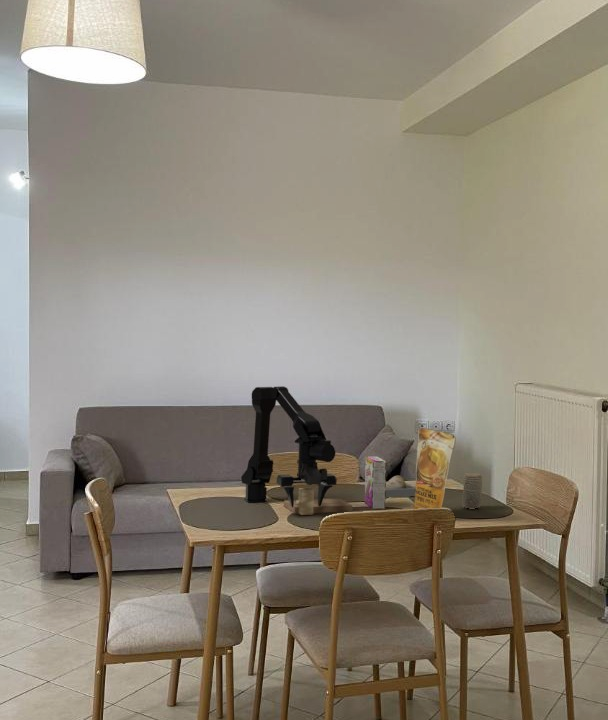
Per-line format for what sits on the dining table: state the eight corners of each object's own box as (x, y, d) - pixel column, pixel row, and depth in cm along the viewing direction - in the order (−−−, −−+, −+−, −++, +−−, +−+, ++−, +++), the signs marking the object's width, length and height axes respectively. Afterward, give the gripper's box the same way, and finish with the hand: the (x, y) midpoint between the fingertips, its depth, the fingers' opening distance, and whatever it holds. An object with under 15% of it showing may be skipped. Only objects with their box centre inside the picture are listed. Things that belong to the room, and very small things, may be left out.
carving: (460, 509, 285) (461, 474, 285) (464, 505, 292) (465, 471, 292) (479, 511, 283) (480, 476, 282) (482, 507, 290) (483, 473, 289)
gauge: (301, 514, 267) (302, 490, 267) (292, 509, 275) (293, 485, 275) (313, 514, 268) (313, 489, 268) (304, 509, 276) (305, 484, 276)
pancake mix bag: (423, 509, 283) (426, 426, 283) (455, 521, 266) (458, 433, 265) (406, 510, 281) (408, 427, 280) (437, 522, 263) (439, 433, 263)
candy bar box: (363, 502, 292) (364, 456, 291) (377, 502, 292) (378, 456, 292) (371, 509, 281) (372, 460, 280) (385, 509, 281) (387, 460, 281)
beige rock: (373, 494, 310) (383, 470, 313) (395, 505, 312) (404, 481, 315) (381, 493, 303) (391, 468, 306) (404, 504, 305) (413, 479, 308)
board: (294, 513, 270) (294, 507, 270) (283, 506, 281) (283, 500, 281) (352, 511, 276) (352, 505, 276) (339, 504, 288) (339, 498, 288)
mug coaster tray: (381, 498, 302) (382, 489, 302) (366, 491, 315) (366, 483, 315) (419, 496, 306) (419, 488, 306) (402, 490, 320) (403, 482, 320)
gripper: (287, 462, 258) (285, 512, 258) (343, 461, 264) (342, 510, 264) (276, 457, 268) (275, 505, 269) (331, 456, 274) (329, 503, 275)
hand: (305, 506), depth 269 cm, fingers open, 9 cm apart
